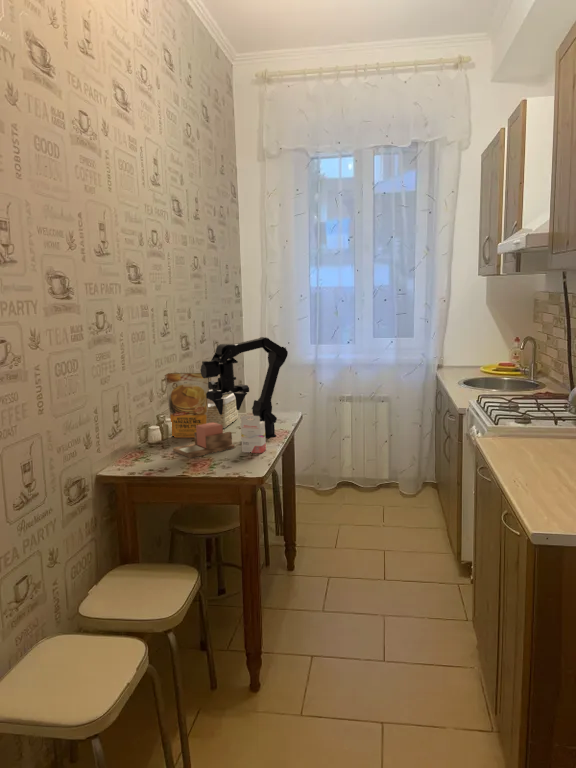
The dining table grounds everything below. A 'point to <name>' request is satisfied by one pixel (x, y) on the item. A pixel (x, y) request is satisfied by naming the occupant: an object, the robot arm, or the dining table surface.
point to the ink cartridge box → (253, 434)
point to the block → (207, 432)
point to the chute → (207, 445)
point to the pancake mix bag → (187, 402)
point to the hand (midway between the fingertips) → (229, 412)
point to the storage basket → (228, 411)
